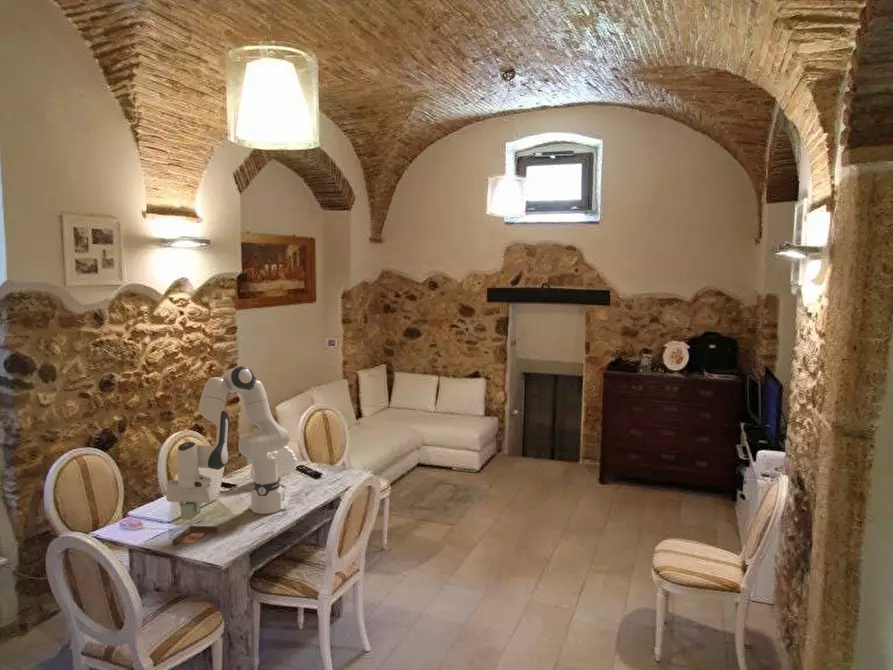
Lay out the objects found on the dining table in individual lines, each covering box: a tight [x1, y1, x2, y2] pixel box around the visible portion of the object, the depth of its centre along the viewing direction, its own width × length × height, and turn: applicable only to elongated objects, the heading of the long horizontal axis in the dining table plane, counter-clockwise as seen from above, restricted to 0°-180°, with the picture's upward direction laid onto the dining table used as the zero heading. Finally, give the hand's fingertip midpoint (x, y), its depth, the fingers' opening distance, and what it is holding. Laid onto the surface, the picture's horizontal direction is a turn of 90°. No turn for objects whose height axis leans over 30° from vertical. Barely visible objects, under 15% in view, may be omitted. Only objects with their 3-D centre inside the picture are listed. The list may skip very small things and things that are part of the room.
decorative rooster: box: [250, 445, 298, 481], centre depth 349 cm, size 25×16×25 cm, turn 73°
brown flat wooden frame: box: [172, 524, 219, 546], centre depth 282 cm, size 15×13×2 cm
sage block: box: [180, 502, 201, 521], centre depth 281 cm, size 4×8×6 cm, turn 173°
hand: (190, 511), depth 281 cm, fingers closed on sage block, 4 cm apart
